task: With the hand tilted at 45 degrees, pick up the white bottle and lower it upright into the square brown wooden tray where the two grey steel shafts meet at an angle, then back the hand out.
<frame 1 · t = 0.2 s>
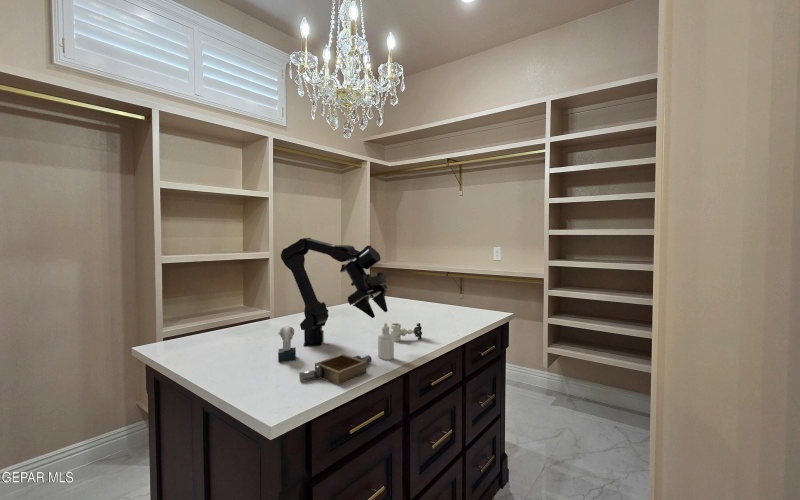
hand: (380, 314, 121), 14 cm above the countertop, tool tilted 35°, fingers open, 9 cm apart
output shaft: (310, 379, 102), on the countertop
white bottle: (385, 358, 119), on the countertop
input shaft: (362, 365, 113), on the countertop
square brown wooden tray: (340, 374, 106), on the countertop
valve: (405, 340, 139), on the countertop
rubber stamp: (287, 359, 118), on the countertop
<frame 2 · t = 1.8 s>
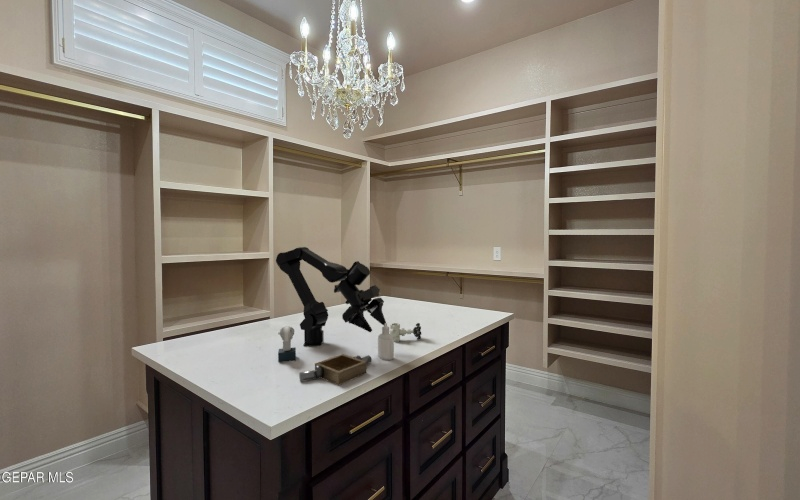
hand: (378, 328, 120), 10 cm above the countertop, tool tilted 45°, fingers open, 9 cm apart
nothing on the countertop moved.
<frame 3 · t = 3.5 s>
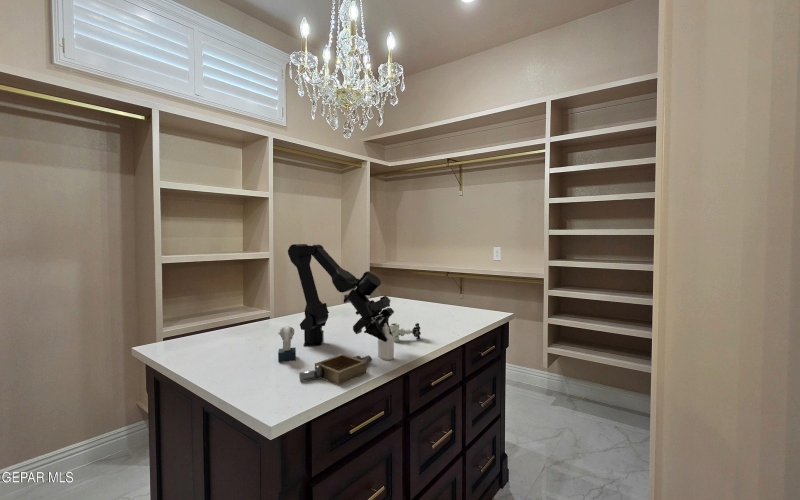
hand: (389, 339, 118), 7 cm above the countertop, tool tilted 45°, fingers closed on white bottle, 3 cm apart
white bottle: (385, 358, 119), on the countertop, touching gripper
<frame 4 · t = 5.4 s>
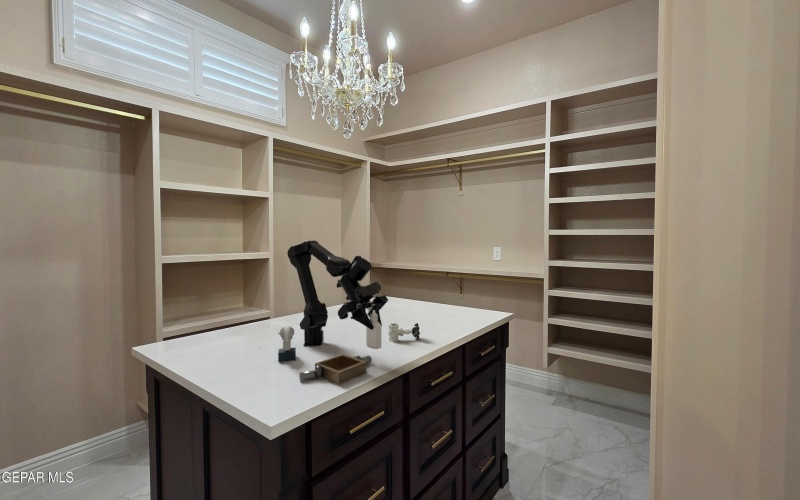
hand: (376, 327, 112), 12 cm above the countertop, tool tilted 45°, fingers closed on white bottle, 3 cm apart
white bottle: (373, 347, 114), point 5 cm above the countertop, touching gripper
when the fingers open (8 cm above the countertop, at t = 7.6 s): white bottle stays where it is, resting on square brown wooden tray.
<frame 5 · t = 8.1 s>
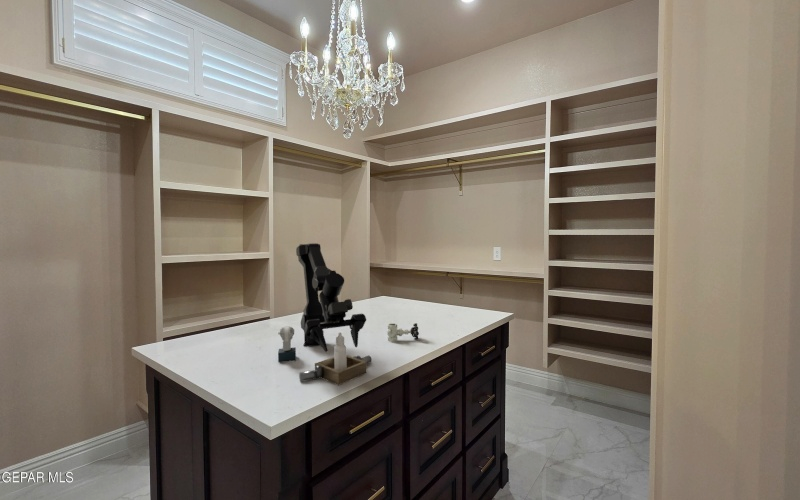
hand: (342, 349, 104), 8 cm above the countertop, tool tilted 45°, fingers open, 9 cm apart
white bottle: (340, 372, 106), resting on square brown wooden tray
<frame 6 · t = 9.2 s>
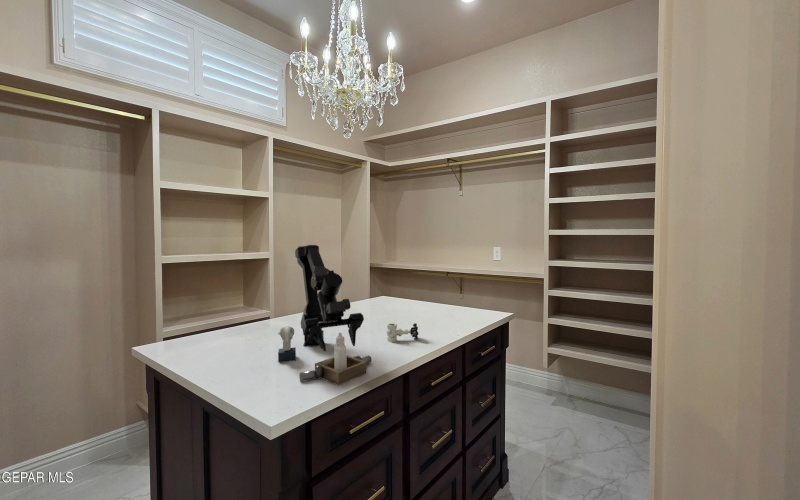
hand: (339, 348, 106), 8 cm above the countertop, tool tilted 45°, fingers open, 9 cm apart
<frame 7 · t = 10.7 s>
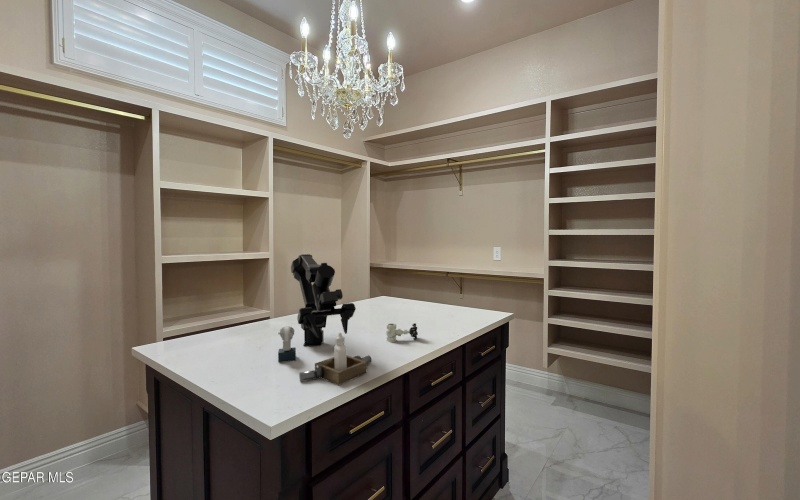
hand: (332, 335, 112), 10 cm above the countertop, tool tilted 45°, fingers open, 9 cm apart
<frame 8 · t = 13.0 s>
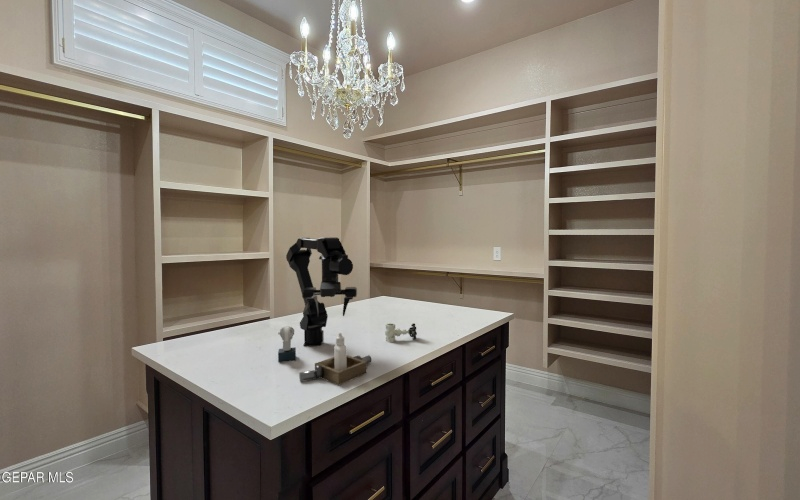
hand: (330, 316, 125), 13 cm above the countertop, tool pointing down, fingers open, 9 cm apart
at the end: white bottle 0.1 cm off-centre on the square brown wooden tray, point 0.4 cm above the square brown wooden tray's base; white bottle tilted 0°; the gripper is holding nothing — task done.
